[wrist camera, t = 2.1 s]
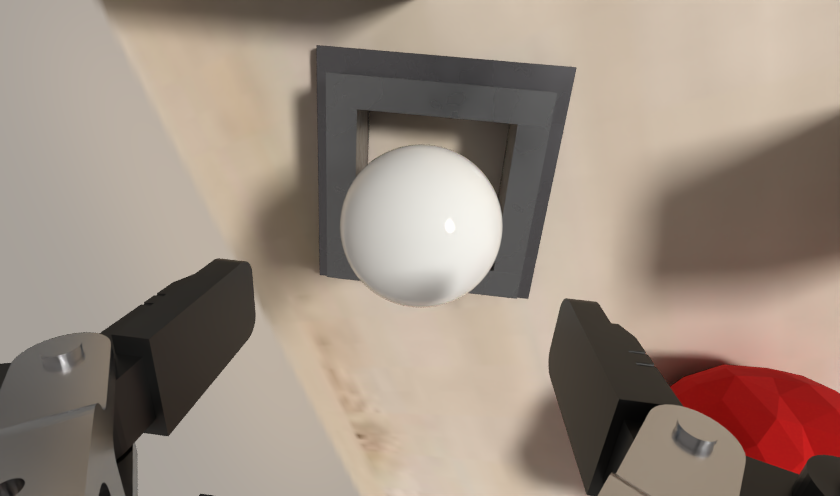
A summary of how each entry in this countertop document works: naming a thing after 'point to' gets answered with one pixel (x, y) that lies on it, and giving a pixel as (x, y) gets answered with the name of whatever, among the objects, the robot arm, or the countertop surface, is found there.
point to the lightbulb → (421, 225)
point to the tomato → (767, 412)
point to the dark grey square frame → (451, 98)
